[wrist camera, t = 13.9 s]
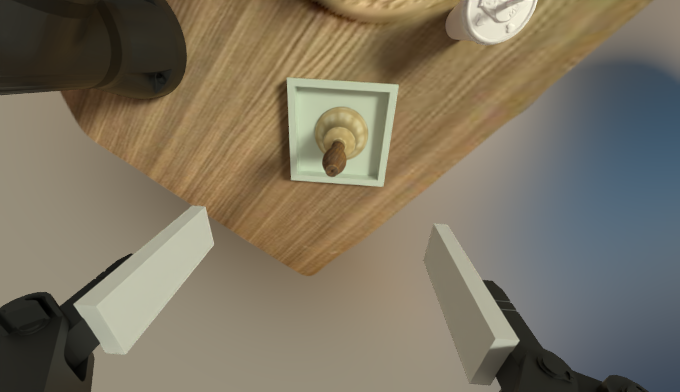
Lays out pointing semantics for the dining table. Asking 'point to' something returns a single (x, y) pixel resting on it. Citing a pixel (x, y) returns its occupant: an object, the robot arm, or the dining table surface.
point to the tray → (323, 94)
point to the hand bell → (340, 138)
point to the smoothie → (488, 20)
